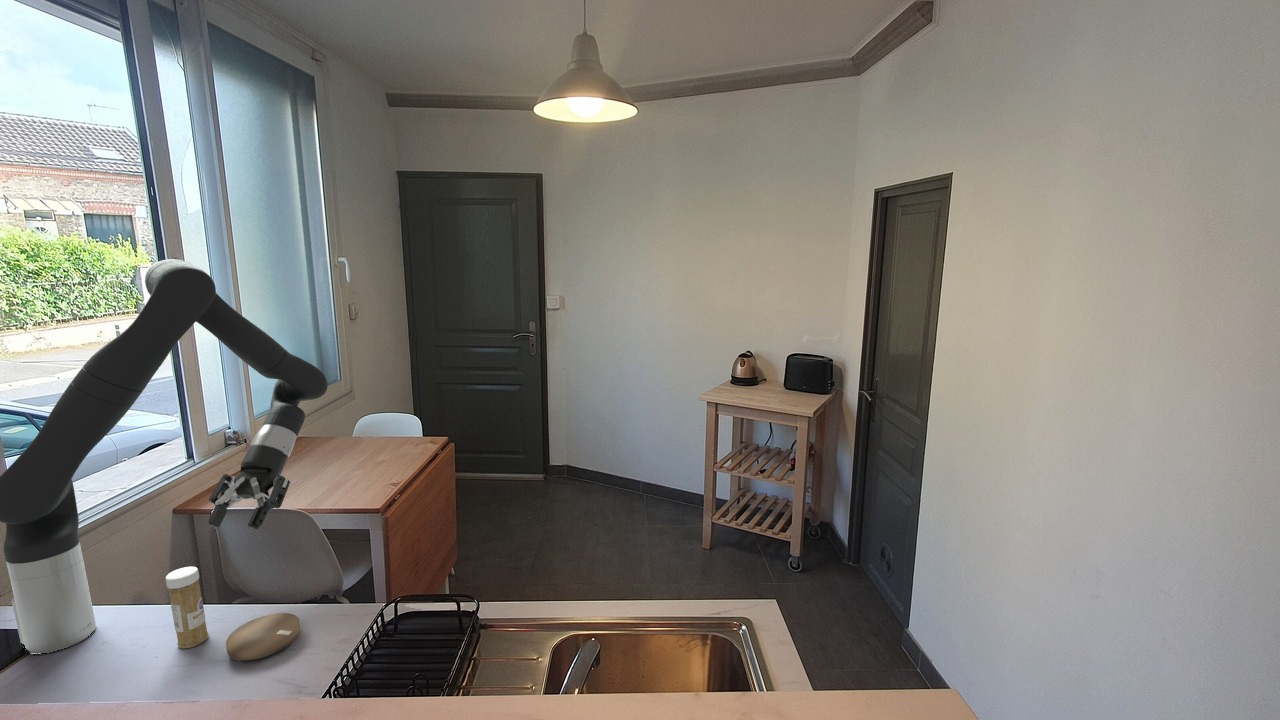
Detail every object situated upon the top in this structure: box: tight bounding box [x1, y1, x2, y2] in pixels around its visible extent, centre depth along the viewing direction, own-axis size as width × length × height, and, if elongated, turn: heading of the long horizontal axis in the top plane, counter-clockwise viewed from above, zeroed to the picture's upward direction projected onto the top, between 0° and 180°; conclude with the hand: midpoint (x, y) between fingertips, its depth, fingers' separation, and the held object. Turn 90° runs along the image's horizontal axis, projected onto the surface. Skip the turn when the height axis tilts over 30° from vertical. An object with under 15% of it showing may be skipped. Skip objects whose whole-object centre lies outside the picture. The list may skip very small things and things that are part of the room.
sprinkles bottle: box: [165, 566, 209, 649], centre depth 104 cm, size 5×5×13 cm
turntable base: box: [238, 641, 294, 663], centre depth 103 cm, size 9×9×1 cm
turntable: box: [225, 612, 302, 661], centre depth 103 cm, size 11×11×2 cm
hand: (232, 527), depth 113 cm, fingers open, 8 cm apart
